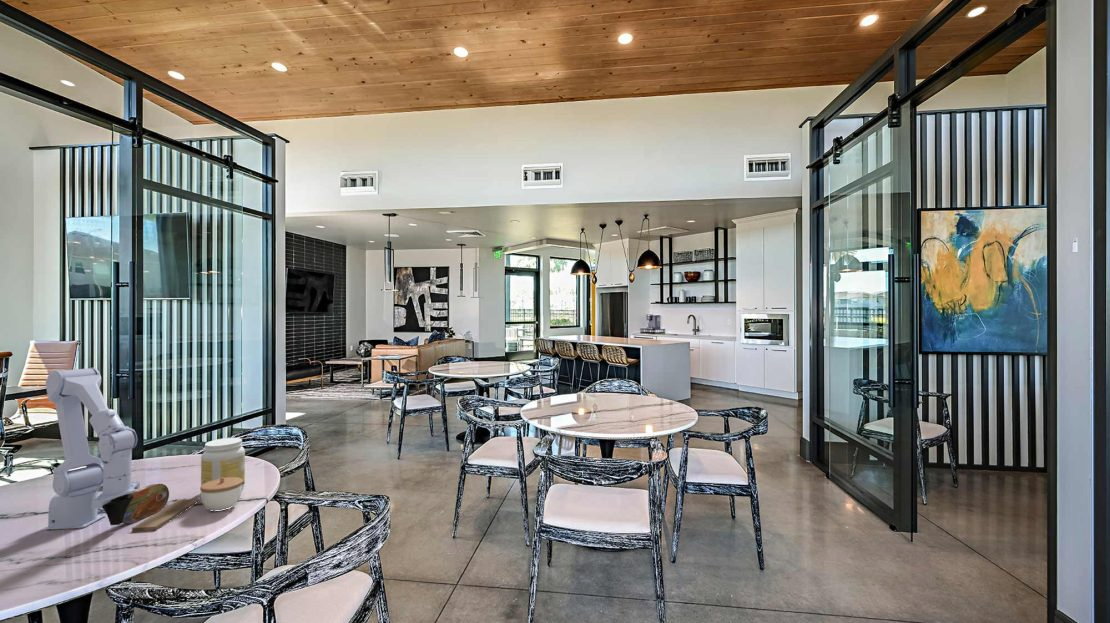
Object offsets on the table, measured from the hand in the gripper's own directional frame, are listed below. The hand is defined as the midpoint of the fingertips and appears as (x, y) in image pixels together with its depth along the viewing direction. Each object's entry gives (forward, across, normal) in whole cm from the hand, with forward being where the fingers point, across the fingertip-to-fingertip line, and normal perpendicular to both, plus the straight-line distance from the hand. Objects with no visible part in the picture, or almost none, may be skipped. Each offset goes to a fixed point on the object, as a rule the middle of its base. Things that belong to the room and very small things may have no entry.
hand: (116, 524), depth 129 cm
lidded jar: (+2, +13, -20) cm, 24 cm away
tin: (+2, +9, 0) cm, 9 cm away
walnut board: (+2, +9, -8) cm, 12 cm away
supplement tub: (+2, +28, -13) cm, 31 cm away
